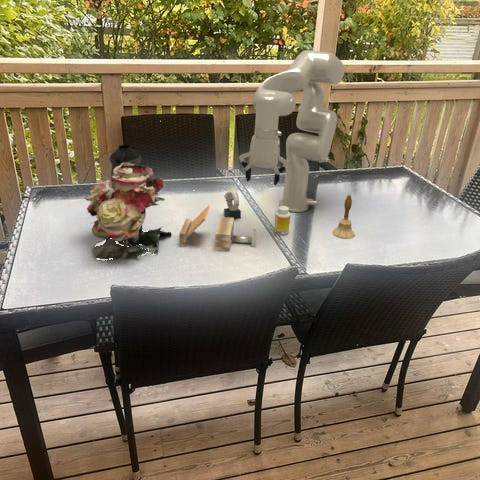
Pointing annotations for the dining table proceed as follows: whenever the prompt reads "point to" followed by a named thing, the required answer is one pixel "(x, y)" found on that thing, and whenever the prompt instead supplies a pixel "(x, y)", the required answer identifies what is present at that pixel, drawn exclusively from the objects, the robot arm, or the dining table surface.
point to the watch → (232, 205)
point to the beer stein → (124, 158)
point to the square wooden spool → (221, 236)
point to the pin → (246, 238)
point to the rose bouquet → (125, 212)
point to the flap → (198, 221)
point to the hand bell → (345, 222)
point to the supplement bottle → (282, 220)
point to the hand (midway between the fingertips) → (262, 182)
